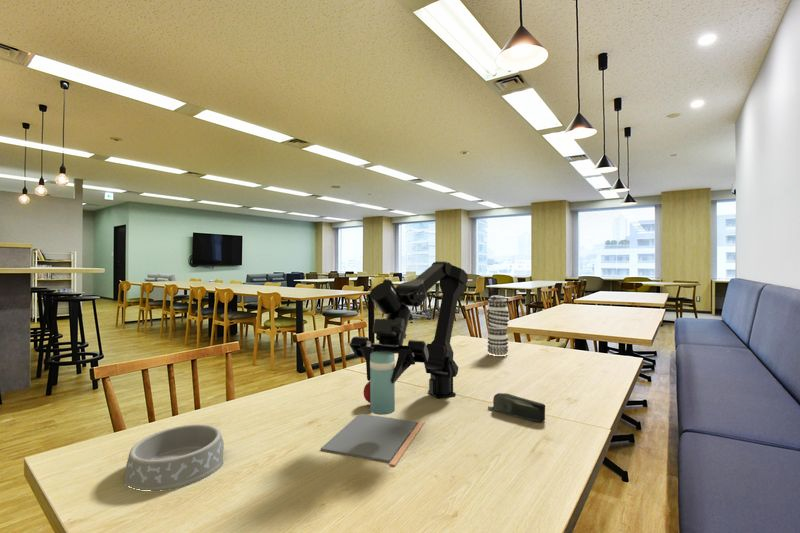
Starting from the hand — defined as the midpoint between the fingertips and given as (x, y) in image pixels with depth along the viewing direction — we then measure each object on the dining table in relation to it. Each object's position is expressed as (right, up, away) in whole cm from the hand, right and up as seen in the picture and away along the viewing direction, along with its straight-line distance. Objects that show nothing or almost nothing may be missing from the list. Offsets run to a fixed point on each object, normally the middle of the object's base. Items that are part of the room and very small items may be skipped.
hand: (380, 381), depth 90 cm
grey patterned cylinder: (+46, -12, +79) cm, 92 cm away
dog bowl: (-40, -15, -10) cm, 44 cm away
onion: (-3, -13, +22) cm, 26 cm away
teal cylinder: (0, -7, +2) cm, 7 cm away
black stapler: (+35, -13, +14) cm, 40 cm away
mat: (-2, -14, +3) cm, 14 cm away
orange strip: (+7, -14, 0) cm, 15 cm away
